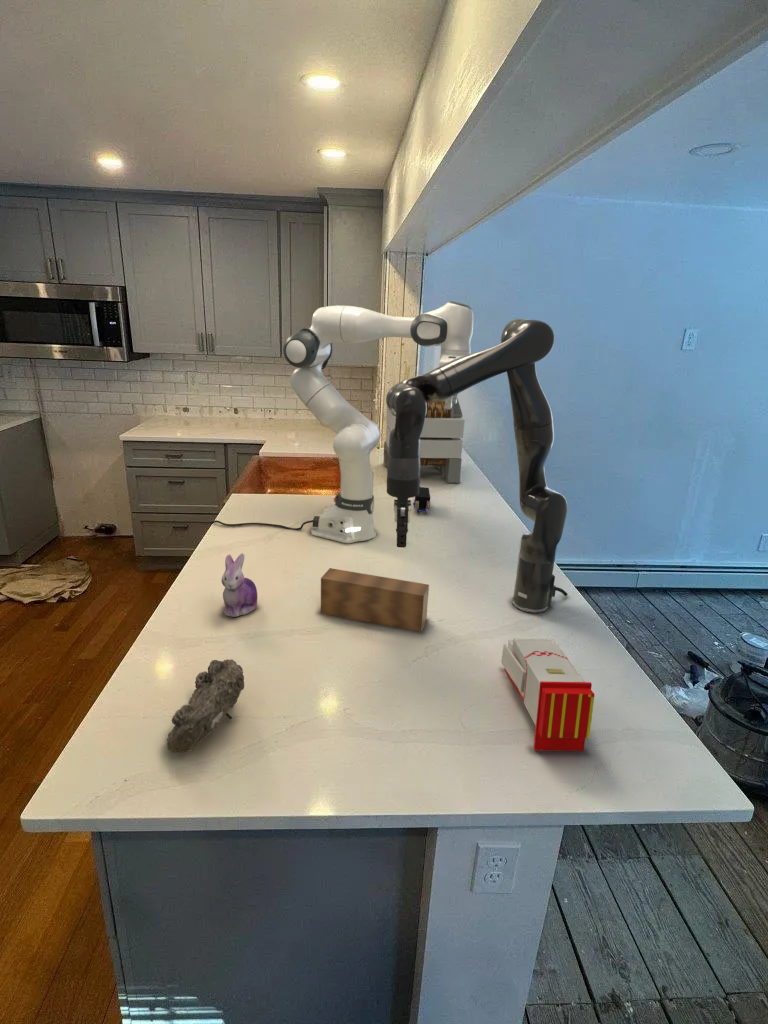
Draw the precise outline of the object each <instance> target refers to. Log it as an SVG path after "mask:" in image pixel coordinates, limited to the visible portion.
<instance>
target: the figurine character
mask: <svg viewBox="0 0 768 1024" xmlns="http://www.w3.org/2000/svg"><path fill="white" fill-rule="evenodd" d="M412 505H413V509H414V510H416V513H417V514H420V512H424V514H425V515H426V514H427V511H430V510H431V493H430V488H429V487H426V486H424V487H423V486H420V487H419V494H418V495H417V496H415V497H413V503H412Z"/></svg>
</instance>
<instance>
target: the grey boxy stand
mask: <svg viewBox="0 0 768 1024" xmlns="http://www.w3.org/2000/svg"><path fill="white" fill-rule="evenodd" d="M385 414H386V415H385V423H386V428H385V438H384V442H383V466H384V467H387V463H388V457H389V436H390V432H391V431H392V430H393V429H395V421H396V414H394V413H393V412H391V411H390V410H389V408H388V406H387V405H386V413H385ZM464 429H465V419H464V418H463V411H462V408H461V405H460V402H459V398H458V397H457V403H456V404H455V405H453V404H452V408H451V409H446V408H445V400H443V401H432V402H429V403H427V411H426V417H425V421H424V426H423V430H422V433H421V436H420V467H436V468H437V470H438V469H439V473H440V474H441V475H443V478H444V479H445V481H446V482H447V483H449V484H455V483H456V484H459V483H461V472H462V461H463V460H462V453H463V442H464V441H463V440H462V439H463V438H464V431H465V430H464Z"/></svg>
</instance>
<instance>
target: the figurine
mask: <svg viewBox="0 0 768 1024" xmlns="http://www.w3.org/2000/svg"><path fill="white" fill-rule="evenodd" d="M244 563H245V554H244V553H240V554H239V555H238V556H237V558H236V559H235V560H234V558H233V557H232V555H231V554H227V555H226V556H225V560H224V564H225V565H224V566H225V567H224V568H225V570H224V572H223V574H222V576H221V579H220V580H221V584H222V586H223V587H224V589H223V591H222V599H223V603H224V611H223V613H224V615H225V616H228V617H234V618H236V617H239V616H245V615H248V614H249V613H251V612H253V611H254V610H256V609H257V606H258V590H257V589H258V588H257V586H256V584H255V583H254V581H253V580H252V579H250V578H248V577H245V575H244V573H243V571H242V569H243V566H244Z"/></svg>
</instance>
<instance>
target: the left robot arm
mask: <svg viewBox="0 0 768 1024" xmlns="http://www.w3.org/2000/svg"><path fill="white" fill-rule="evenodd" d="M310 325H311V326H310V327H303V328H301V329H299V330H298V331H296V332H295V333H293V334H291V335H290V336H289V337H288V338H286V340H285V342H284V343H283V348H282V352H283V353H282V354H283V356H284V358H285V361H287V363H288V364H290V365H291V366H292V367H294V368H295V369H294V370H293V371H292V373H291V375H290V377H289V383H290V387H292V390H293V391H294V393H295V395H296V396H297V397H298V398H299V400H300V401H301V403H302V404H303V405H304V406H305V407H306V408H307V410H309V412H310V413H311V414H312V415H313V416H314V417H315V418H316V420H317V421H318V422H319V423H320V424H321V425H323V426H324V427H327V428H328V429H330V430H331V431H333V432H334V433H336V436H335V437H334V439H333V443H332V446H333V448H332V449H333V451H334V454H335V455H336V457H337V462H338V466H339V473H340V490H339V491H338V492H337V494H336V495H335V496H334V497H333V502H334V504H333V505H331V506H329V507H328V508H326V509H325V510H323V512H321V514H320V515H314V516H313V519H311V520H307V521H304V522H303V523H302V524H301V525H300V527H297V528H296V527H295V528H293V527H289V526H286V525H282V524H277V523H267V522H243V523H241V522H240V523H225V522H222V521H220V520H213V521H211V522H210V525H213V524H220V525H222V526H225V527H241V526H268V527H278V528H282V529H286V530H293V531H301V530H302V529H303V528H304V526H305V525H307V524H310V523H312V528H311V530H310V533H311V536H315V537H319V538H323V539H326V540H330V541H336V542H339V543H343V544H352V543H357V542H365V541H368V540H372V539H373V538H375V537H376V535H377V532H376V528H375V523H374V513H373V512H374V509H375V496H374V472H373V470H372V466H371V465H372V464H371V460H370V458H371V457H370V455H371V452H372V451H373V450H374V449H376V448H377V446H378V445H379V442H380V440H381V436H382V432H381V429H380V427H379V425H378V424H377V423H376V422H375V421H373V420H371V419H369V418H367V417H366V416H365V415H364V414H363V413H362V412H360V411H359V410H358V409H357V408H355V406H353V405H352V404H350V403H349V402H348V401H347V400H346V399H345V398H344V396H342V394H341V393H340V392H339V391H338V390H337V389H336V388H335V386H334V385H332V383H331V382H330V381H329V379H328V378H326V377H325V375H324V373H323V371H322V370H324V369H326V368H327V364H328V363H329V360H331V358H332V356H333V352H334V343H340V344H361V343H363V344H364V343H368V342H372V341H377V340H381V339H385V338H403V339H404V338H407V339H412V340H413V342H414V343H416V344H417V345H419V346H421V347H425V348H427V347H439V346H440V356H439V364H438V367H440V366H442V365H444V364H446V363H448V362H450V361H453V360H455V359H457V358H460V357H463V356H466V355H470V354H472V352H471V351H472V347H471V340H472V337H473V331H474V311H473V309H472V308H471V306H469V305H467V304H465V303H462V302H457V301H450V300H449V301H448V302H446V303H445V304H444V305H442V306H440V307H438V308H436V309H433V310H431V311H430V310H429V311H427V312H424V313H420V314H419V315H416V316H396V315H390V314H385V313H381V312H378V311H375V310H371V309H368V308H366V307H361V306H356V305H355V306H354V305H329V306H328V305H327V306H322V307H319V308H317V309H316V310H315V311H314V312H313V314H312V318H311V324H310ZM458 396H459V393H458V394H456V395H454V396H452V397H450V398H448V399H446V400H445V408H446V409H451V408H452V404H453V405H455V404H456V403H457V398H458Z"/></svg>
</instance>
